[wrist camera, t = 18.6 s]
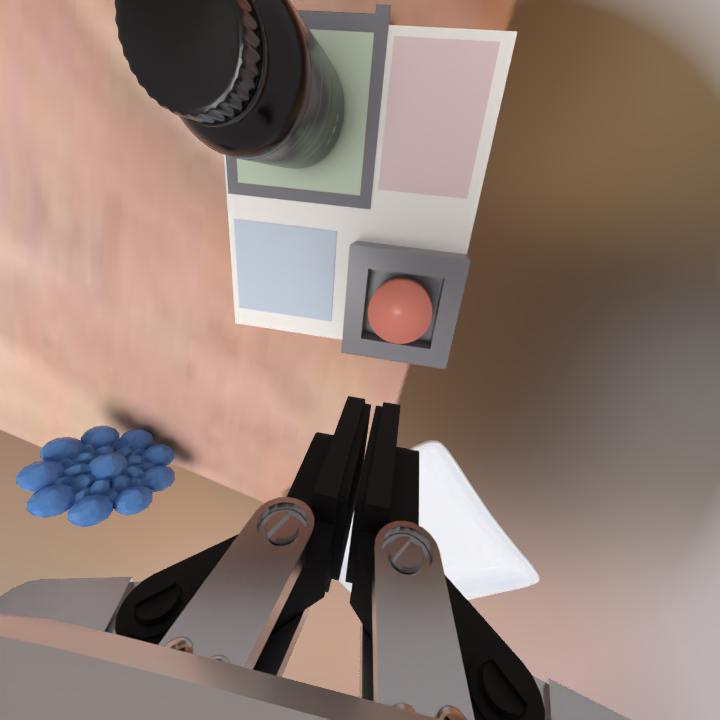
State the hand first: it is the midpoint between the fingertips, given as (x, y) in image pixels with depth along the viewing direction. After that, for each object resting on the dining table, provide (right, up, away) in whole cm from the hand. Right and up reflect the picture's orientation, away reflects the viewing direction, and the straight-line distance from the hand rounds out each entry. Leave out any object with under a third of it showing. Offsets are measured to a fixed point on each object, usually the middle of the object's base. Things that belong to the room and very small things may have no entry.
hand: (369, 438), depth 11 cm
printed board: (-1, +14, +15) cm, 20 cm away
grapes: (-25, -7, +29) cm, 39 cm away
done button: (+3, +6, +14) cm, 16 cm away
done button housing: (+3, +7, +15) cm, 17 cm away
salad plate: (+5, -16, +28) cm, 33 cm away
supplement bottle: (-4, +19, +11) cm, 22 cm away
